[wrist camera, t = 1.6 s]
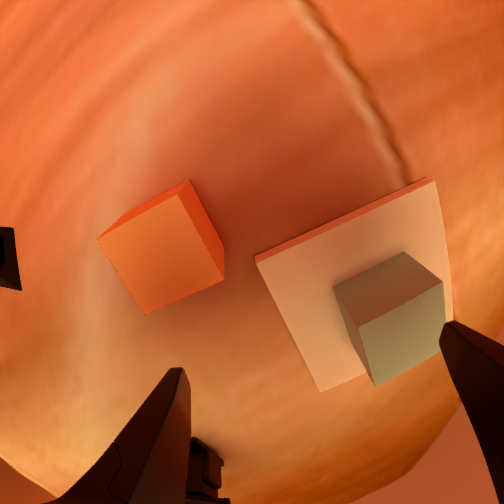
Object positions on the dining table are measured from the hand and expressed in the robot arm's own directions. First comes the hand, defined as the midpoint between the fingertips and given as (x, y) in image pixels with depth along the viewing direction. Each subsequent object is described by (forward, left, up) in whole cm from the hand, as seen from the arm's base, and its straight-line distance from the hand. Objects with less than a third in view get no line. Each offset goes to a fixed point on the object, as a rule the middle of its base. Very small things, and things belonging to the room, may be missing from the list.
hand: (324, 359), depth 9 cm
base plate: (+5, -8, -12) cm, 16 cm away
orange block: (-6, +3, -12) cm, 14 cm away
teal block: (+5, -8, -11) cm, 15 cm away
